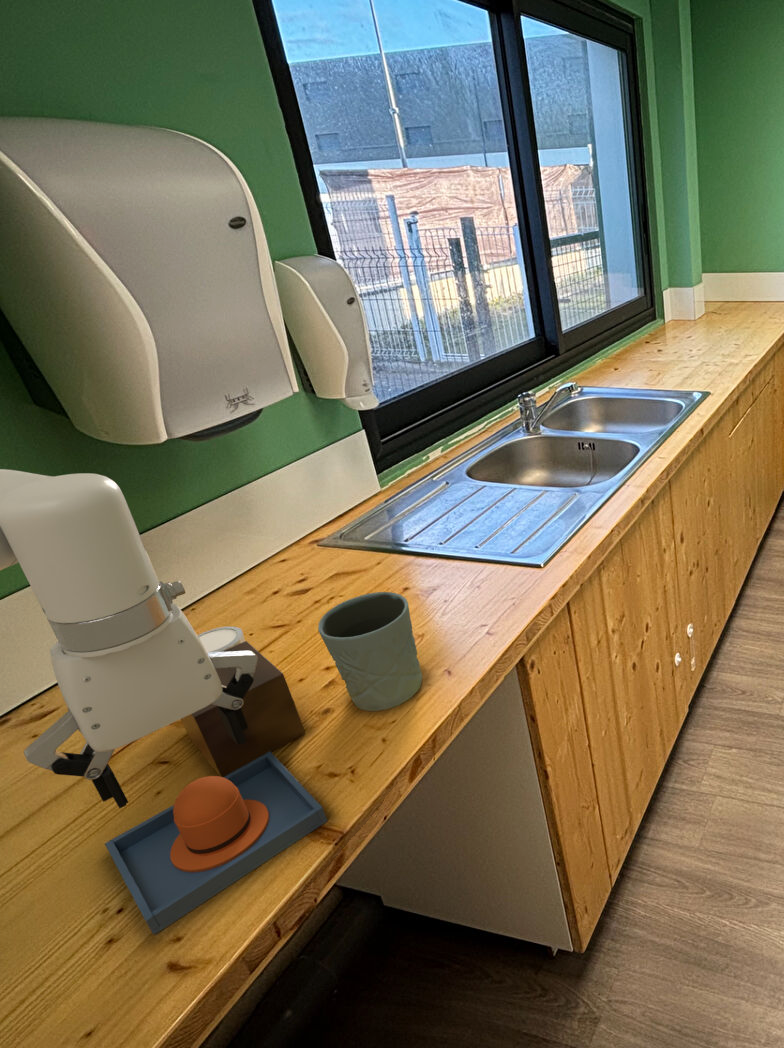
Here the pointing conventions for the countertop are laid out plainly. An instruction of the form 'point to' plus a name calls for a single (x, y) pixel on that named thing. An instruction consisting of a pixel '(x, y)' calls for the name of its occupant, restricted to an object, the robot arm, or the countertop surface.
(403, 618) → the grey-green cup
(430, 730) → the countertop surface
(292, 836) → the tray
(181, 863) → the hat
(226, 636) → the shot glass
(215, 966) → the countertop surface
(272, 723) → the stand block
